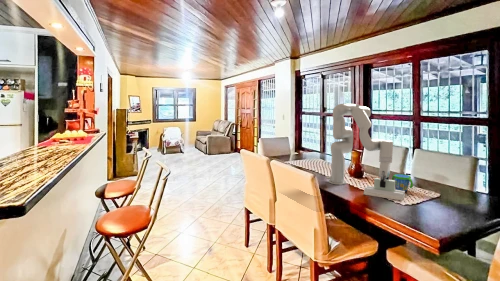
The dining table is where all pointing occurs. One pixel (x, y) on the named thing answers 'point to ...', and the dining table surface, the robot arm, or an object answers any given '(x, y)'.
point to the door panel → (388, 187)
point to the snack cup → (402, 182)
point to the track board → (384, 193)
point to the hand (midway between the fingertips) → (384, 185)
